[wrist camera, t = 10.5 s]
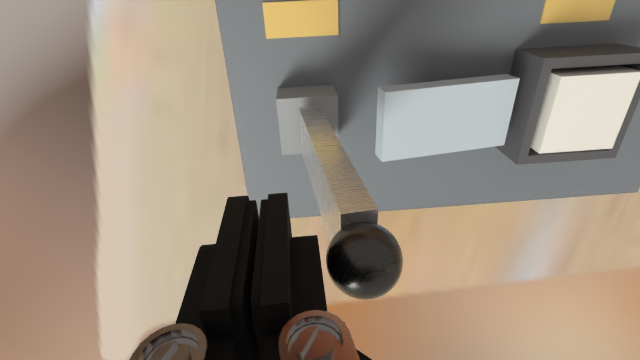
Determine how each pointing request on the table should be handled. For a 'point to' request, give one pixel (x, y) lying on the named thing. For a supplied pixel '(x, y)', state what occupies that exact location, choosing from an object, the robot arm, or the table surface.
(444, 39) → the switch panel
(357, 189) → the toggle lever
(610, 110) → the push button
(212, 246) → the robot arm
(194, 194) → the table surface
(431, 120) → the rocker switch
